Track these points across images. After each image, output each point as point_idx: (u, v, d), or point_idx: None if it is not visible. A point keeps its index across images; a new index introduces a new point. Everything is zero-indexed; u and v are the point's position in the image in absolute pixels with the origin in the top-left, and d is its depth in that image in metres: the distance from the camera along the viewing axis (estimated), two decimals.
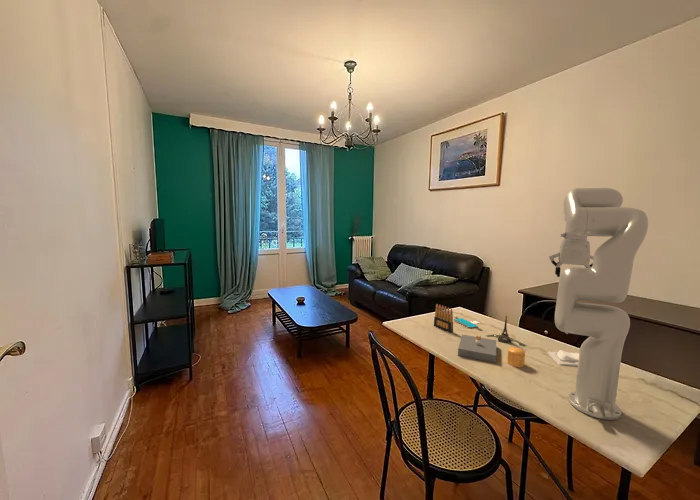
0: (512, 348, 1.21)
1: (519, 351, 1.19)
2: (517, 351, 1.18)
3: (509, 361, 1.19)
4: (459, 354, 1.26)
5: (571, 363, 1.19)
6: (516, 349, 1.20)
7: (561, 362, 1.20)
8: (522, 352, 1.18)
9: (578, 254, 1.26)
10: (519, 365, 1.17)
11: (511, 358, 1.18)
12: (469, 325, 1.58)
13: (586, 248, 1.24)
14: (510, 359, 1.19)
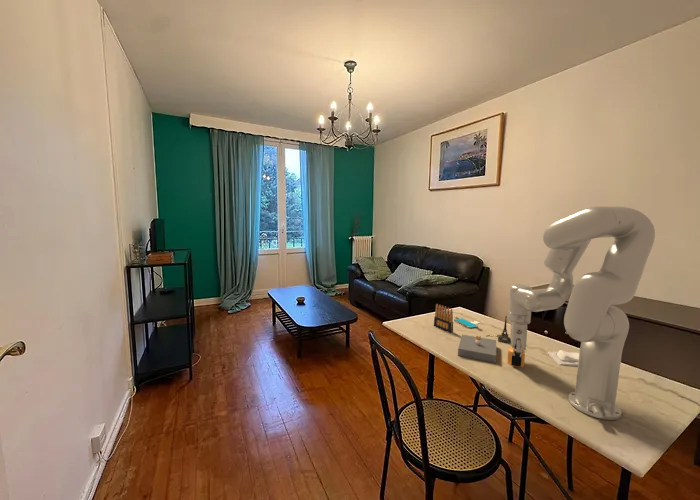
0: (512, 348, 1.21)
1: None
2: None
3: (509, 361, 1.19)
4: (459, 354, 1.26)
5: (571, 363, 1.19)
6: None
7: (561, 362, 1.20)
8: (522, 352, 1.18)
9: None
10: None
11: (511, 358, 1.18)
12: (469, 325, 1.58)
13: None
14: (510, 359, 1.19)
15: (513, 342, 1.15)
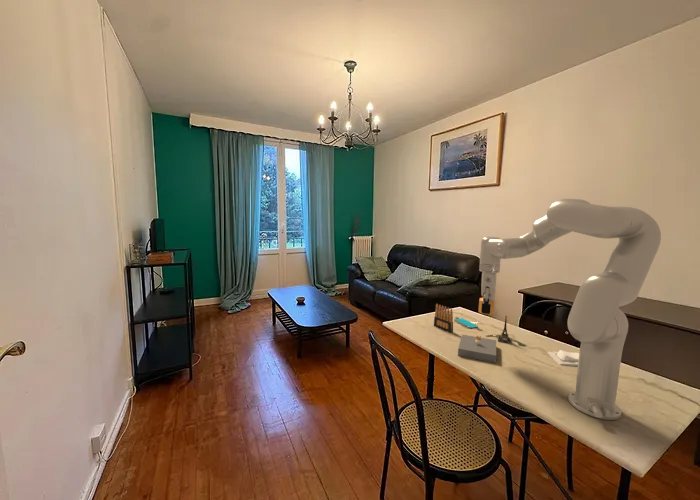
0: None
1: None
2: None
3: (479, 310, 1.26)
4: (459, 354, 1.26)
5: (571, 363, 1.19)
6: None
7: (561, 362, 1.20)
8: (492, 301, 1.24)
9: None
10: None
11: (481, 306, 1.25)
12: (469, 325, 1.58)
13: None
14: (480, 308, 1.25)
15: (482, 290, 1.21)
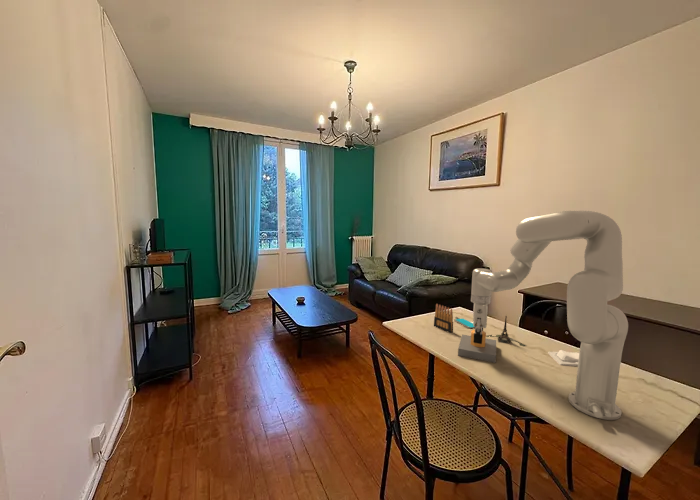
0: None
1: None
2: None
3: (472, 342, 1.29)
4: (459, 354, 1.26)
5: (572, 363, 1.19)
6: None
7: (562, 362, 1.20)
8: (483, 333, 1.28)
9: None
10: (480, 345, 1.27)
11: (473, 339, 1.28)
12: (469, 325, 1.57)
13: None
14: (472, 340, 1.29)
15: (474, 321, 1.25)
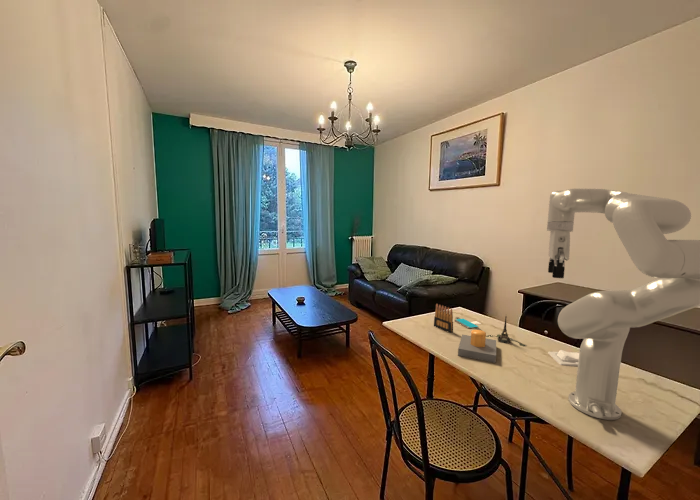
0: (475, 330, 1.31)
1: (481, 332, 1.29)
2: (479, 333, 1.28)
3: (472, 342, 1.29)
4: (459, 354, 1.26)
5: (572, 363, 1.19)
6: (478, 331, 1.30)
7: (562, 362, 1.20)
8: (483, 333, 1.28)
9: None
10: (480, 345, 1.27)
11: (473, 339, 1.28)
12: (469, 325, 1.57)
13: None
14: (472, 340, 1.29)
15: (554, 252, 1.04)
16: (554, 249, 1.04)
